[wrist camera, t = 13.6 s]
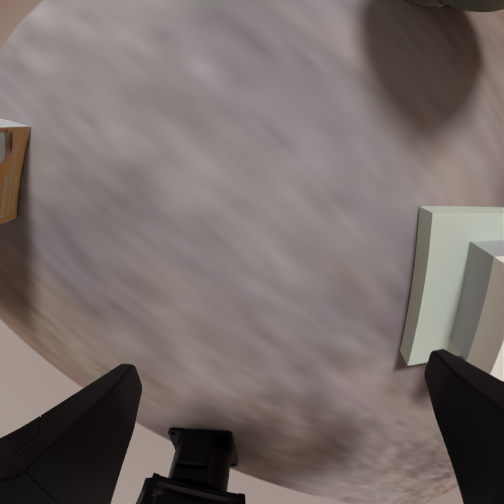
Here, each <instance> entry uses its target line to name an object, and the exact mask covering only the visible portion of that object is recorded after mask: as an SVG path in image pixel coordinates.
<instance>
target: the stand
mask: <svg viewBox="0 0 504 504" xmlns="http://www.w3.org/2000/svg"><path fill="white" fill-rule="evenodd" d="M492 240H504V207H467V206H419V220H418V234H417V245H416V255H415V264H414V272H413V280H412V287H411V294H410V300H409V306H408V312H407V318H406V323H405V329H404V334H403V339H402V343H401V348H400V352H401V354H402V356H403V358H404V360H405V362H406V364H407V366H409V365H415V364H421V363H426V362H428V359H429V356H430V353H431V352H432V351H433V350H438V349H445V350H447V351H448V352H450V353H452V354H454V355H456V356H461V354H460V353H459V351H458V350H457V349H456V347H455V346H454V345H453V343H452V342H451V341H450V336H451V333H452V329H453V325H454V321H455V317H456V313H457V309H458V305H459V300H460V295H461V291H462V286H463V281H464V275H465V270H466V264H467V258H468V251H469V244H470V242H471V241H492Z"/></svg>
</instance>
